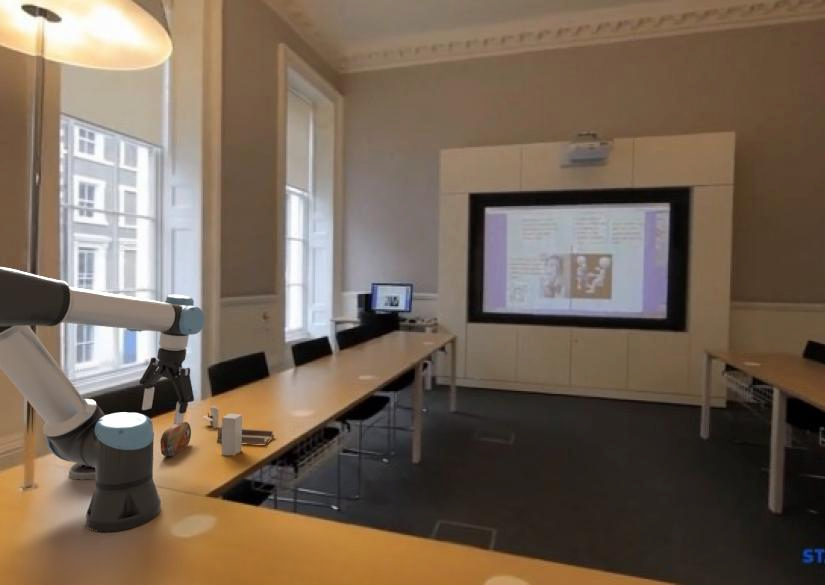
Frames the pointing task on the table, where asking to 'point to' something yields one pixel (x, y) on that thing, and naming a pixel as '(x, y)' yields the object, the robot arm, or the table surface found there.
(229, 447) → the clay bar
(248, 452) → the table surface
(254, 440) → the rack
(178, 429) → the tin
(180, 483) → the table surface
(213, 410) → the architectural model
